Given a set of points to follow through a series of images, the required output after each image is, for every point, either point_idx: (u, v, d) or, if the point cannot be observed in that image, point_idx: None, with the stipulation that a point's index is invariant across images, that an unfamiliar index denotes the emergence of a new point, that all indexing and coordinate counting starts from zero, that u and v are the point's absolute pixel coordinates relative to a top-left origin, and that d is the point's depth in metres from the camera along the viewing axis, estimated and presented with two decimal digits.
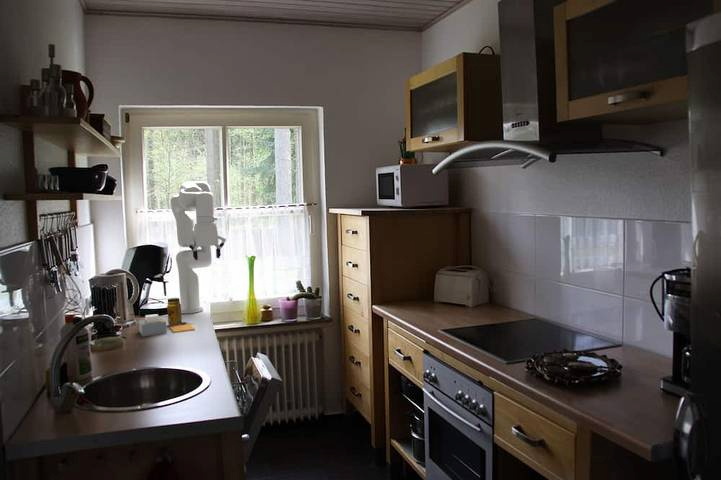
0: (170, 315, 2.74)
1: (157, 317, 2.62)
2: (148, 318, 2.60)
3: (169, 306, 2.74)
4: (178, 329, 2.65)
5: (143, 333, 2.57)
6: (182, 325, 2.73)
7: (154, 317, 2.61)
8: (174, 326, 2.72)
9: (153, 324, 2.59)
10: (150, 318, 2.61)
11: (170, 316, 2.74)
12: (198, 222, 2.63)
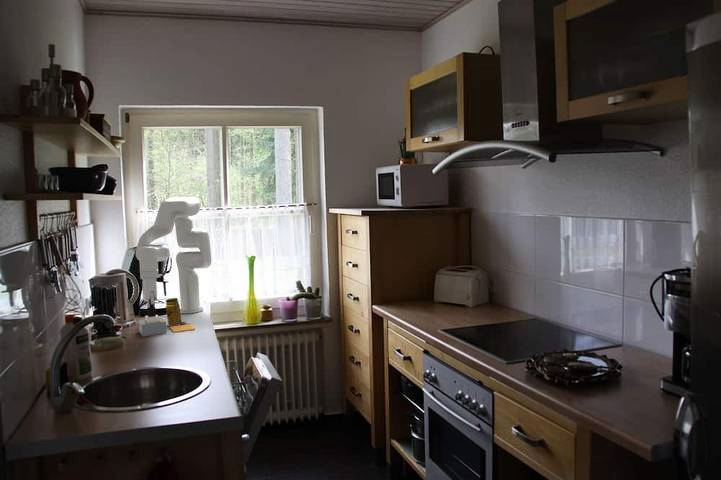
0: (169, 315, 2.74)
1: (157, 318, 2.62)
2: (148, 319, 2.60)
3: (168, 307, 2.74)
4: (178, 329, 2.65)
5: (143, 333, 2.57)
6: (182, 325, 2.73)
7: (154, 318, 2.61)
8: (174, 326, 2.72)
9: (153, 324, 2.59)
10: (150, 319, 2.61)
11: (169, 316, 2.74)
12: (154, 276, 2.60)
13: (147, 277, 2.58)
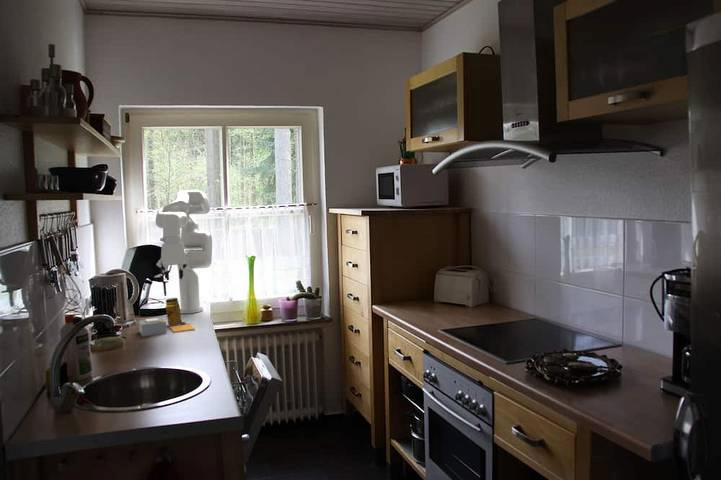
0: (169, 315, 2.74)
1: (157, 321, 2.62)
2: (148, 322, 2.60)
3: (168, 307, 2.74)
4: (178, 329, 2.65)
5: (143, 333, 2.57)
6: (182, 325, 2.73)
7: (154, 321, 2.62)
8: (174, 326, 2.72)
9: (153, 324, 2.59)
10: (150, 322, 2.61)
11: (169, 316, 2.74)
12: None
13: (180, 241, 2.75)
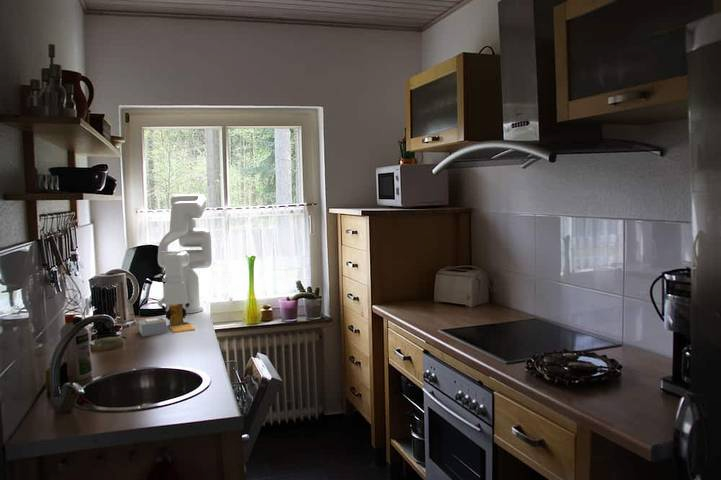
0: (172, 315, 2.75)
1: (157, 321, 2.62)
2: (148, 322, 2.60)
3: (171, 306, 2.75)
4: (178, 329, 2.65)
5: (143, 333, 2.57)
6: (182, 325, 2.73)
7: (154, 321, 2.62)
8: (174, 326, 2.72)
9: (153, 324, 2.59)
10: (150, 322, 2.61)
11: (172, 316, 2.75)
12: None
13: (182, 281, 2.77)
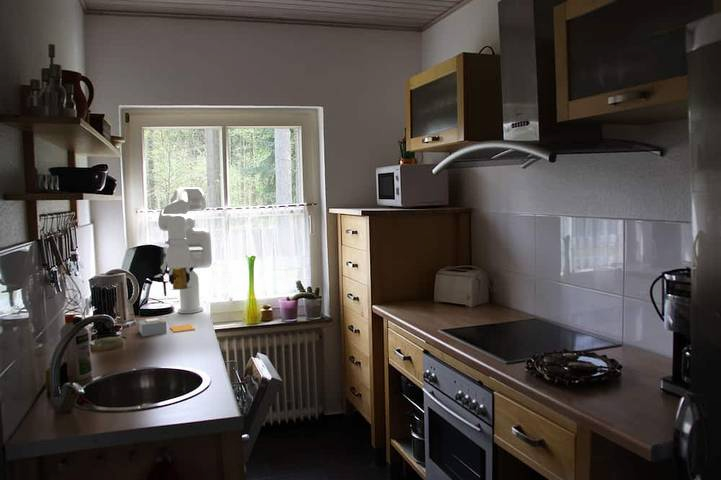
0: (175, 279, 2.64)
1: (157, 321, 2.62)
2: (148, 322, 2.60)
3: (174, 269, 2.64)
4: (178, 329, 2.65)
5: (143, 333, 2.57)
6: (182, 325, 2.73)
7: (154, 321, 2.62)
8: (174, 326, 2.72)
9: (153, 324, 2.59)
10: (150, 322, 2.61)
11: (175, 280, 2.64)
12: None
13: (186, 244, 2.66)
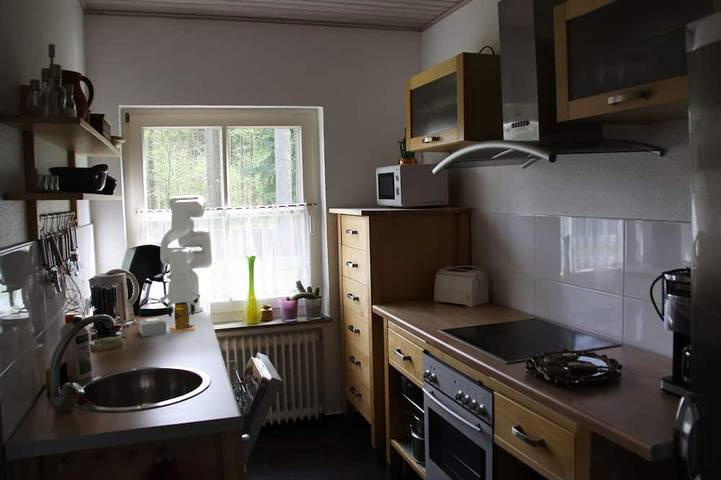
0: (177, 318, 2.66)
1: (157, 321, 2.62)
2: (148, 322, 2.60)
3: (176, 309, 2.65)
4: (178, 329, 2.65)
5: (143, 333, 2.57)
6: None
7: (154, 321, 2.62)
8: (174, 326, 2.72)
9: (153, 324, 2.59)
10: (150, 322, 2.61)
11: (177, 319, 2.66)
12: None
13: (188, 278, 2.68)
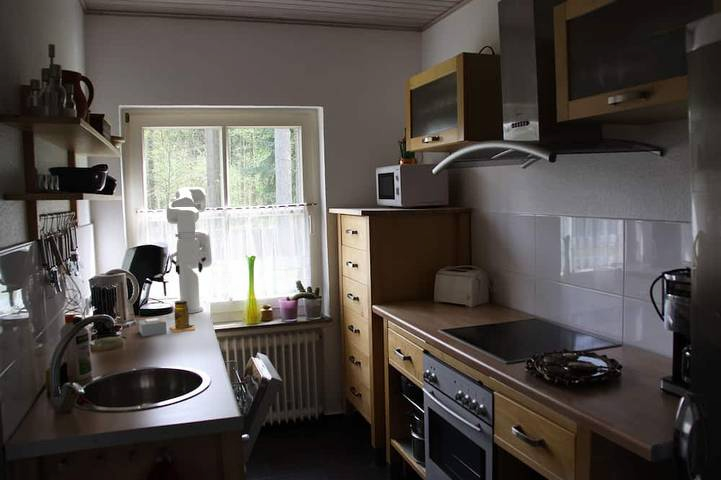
0: (177, 318, 2.66)
1: (157, 321, 2.62)
2: (148, 322, 2.60)
3: (176, 309, 2.65)
4: (178, 329, 2.65)
5: (143, 333, 2.57)
6: None
7: (154, 321, 2.62)
8: (174, 326, 2.72)
9: (153, 324, 2.59)
10: (150, 322, 2.61)
11: (177, 319, 2.66)
12: None
13: (195, 237, 2.74)
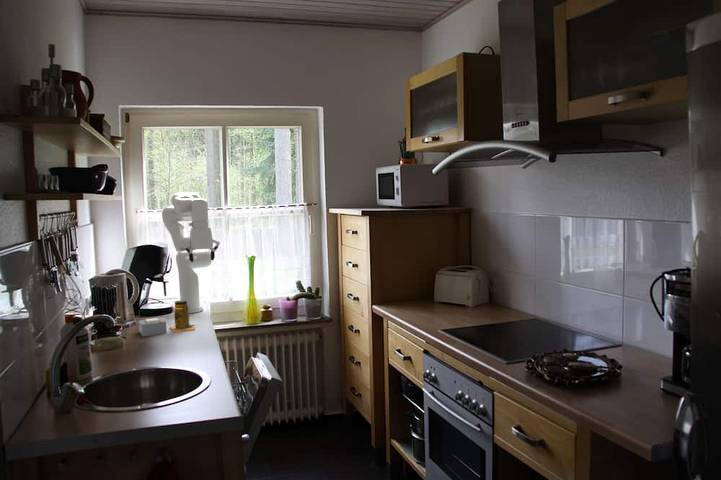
0: (177, 318, 2.66)
1: (157, 321, 2.62)
2: (148, 322, 2.60)
3: (176, 309, 2.65)
4: (178, 329, 2.65)
5: (143, 333, 2.57)
6: None
7: (154, 321, 2.62)
8: (174, 326, 2.72)
9: (153, 324, 2.59)
10: (150, 322, 2.61)
11: (177, 319, 2.66)
12: None
13: (208, 226, 2.85)
